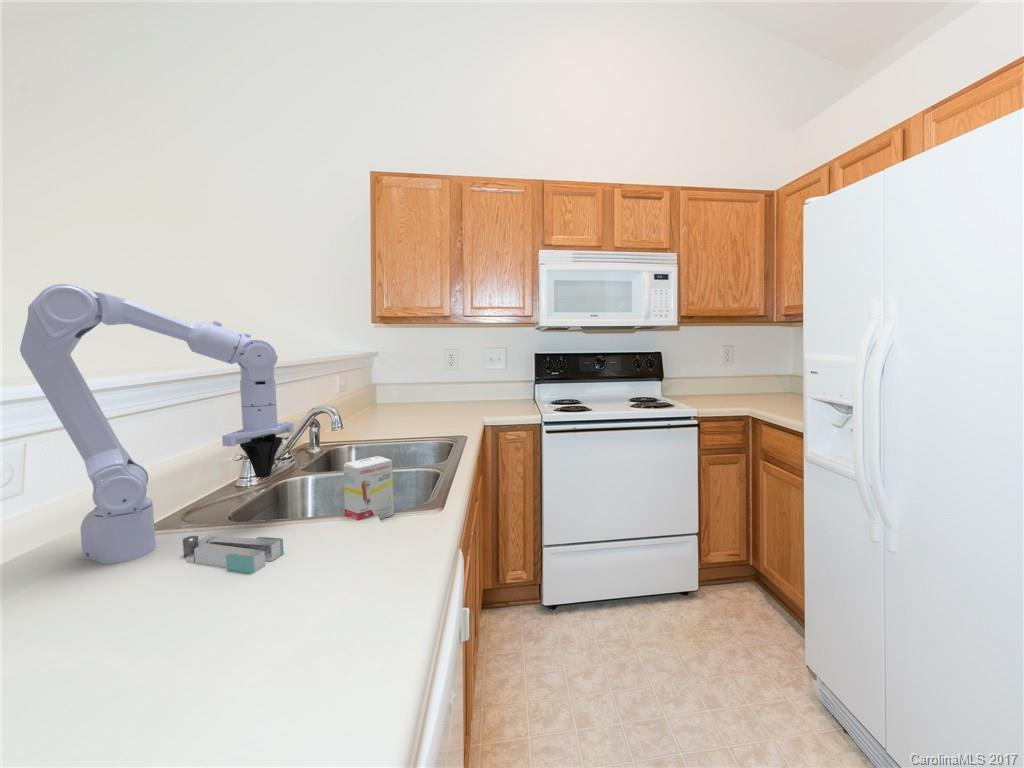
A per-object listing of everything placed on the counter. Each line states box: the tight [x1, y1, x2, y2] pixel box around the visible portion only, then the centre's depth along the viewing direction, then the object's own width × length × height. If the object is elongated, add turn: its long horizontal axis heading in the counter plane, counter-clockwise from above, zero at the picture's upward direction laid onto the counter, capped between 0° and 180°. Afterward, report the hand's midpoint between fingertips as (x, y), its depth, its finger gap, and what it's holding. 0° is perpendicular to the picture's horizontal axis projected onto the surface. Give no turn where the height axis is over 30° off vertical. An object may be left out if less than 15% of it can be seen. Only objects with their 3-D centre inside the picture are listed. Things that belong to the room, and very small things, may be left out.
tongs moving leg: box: [198, 534, 285, 562], centre depth 72 cm, size 13×3×2 cm, turn 80°
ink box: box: [343, 455, 395, 521], centre depth 90 cm, size 9×5×12 cm, turn 141°
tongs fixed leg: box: [182, 535, 266, 575], centre depth 69 cm, size 16×4×3 cm, turn 74°
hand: (263, 476), depth 85 cm, fingers closed
